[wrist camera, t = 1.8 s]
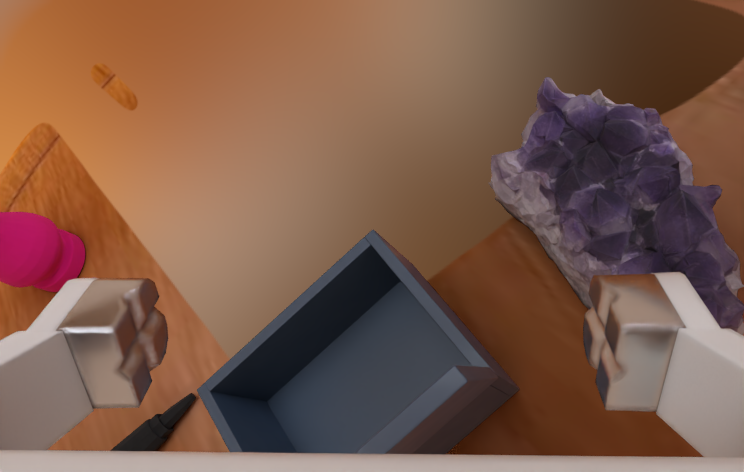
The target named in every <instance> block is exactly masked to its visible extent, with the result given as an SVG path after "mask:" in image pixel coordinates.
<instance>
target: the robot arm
mask: <svg viewBox="0 0 744 472" xmlns="http://www.w3.org/2000/svg"><path fill="white" fill-rule="evenodd" d="M588 294H589V297H590V299H591V302H592V304H593V306H592V307H591V308H590V309H589V310H588V311H587V312H586V313H585V319H584V327H583V337H584V347H585V353H586V356H587V359H588V362H589V364H590V365H591V366H592V367H594V368H595V369H596V370H598V371H597V376H596V385H597V388H598V390H599V393H600V396H601V399H602V401H603V404H604V407H605V410H620V411H652V412H656V414H657V415H658V416H659V417H660V418H661V419H662V420H664V421H665V422H666V423H667V424H668V425H669V426H670V427H671V428H672V429H674V430H675V431H676V432H677V433H678V434H679V435H680V436H681V437H682V438H684V439H685V440H686V441H687V442H688V443H689V444H690V445H691V446H692V447H694V448H695V449H696V450H697V451H698V452H699V453H700V454H701V455H702V456H704V457H636V456H544V455H451V454H346V453H253V452H160V451H67V450H47V449H48V448H50V447H51V446H52V445H53V444H54V443H56V442H57V441H58V440H59V439H60V438H62V437H63V436H64V435H65V434H66V433H68V432H69V431H70V430H71V429H72V428H74V427H75V426H76V425H77V424H78V423H80V422H81V421H82V420H83V419H84V418H86V417H87V416H88V415H89V414H90V413H92V412H93V409H94V408H139V406H140V404H141V402H142V400H143V398H144V396H145V394H146V392H147V390H148V388H149V386H150V384H151V382H152V379H151V376H150V373H149V372H150V371H151V370H153V369H154V368H155V367H157V366H158V365H160V364H161V362H162V360H163V357H164V355H165V353H166V348H167V342H168V330H167V323H166V320H165V316H164V315H163V314H162V313H161V312H160V311H159V310H157V309H156V308H155V307H154V305H155V304H156V302H157V300H158V298H159V295H158V292H157V289H156V286H155V283H154V282H153V281H152V280H150V279H140V278H99V279H98V278H74V279H71V280H68V281H67V282H66V283H65V284H64V286H63V287H62V288H61V289H60V290H59V292H58V293H57V294H56V295H55V296H54V298H53V299H52V300H51V301H50V303H49V304H48V305H47V306H46V307H45V309H44V310H43V311H42V312H41V314H40V315H39V316H38V317H37V318H36V320H35V321H34V322H33V323H32V324H31V326H30V327H29V328H28V329H27V331H17V332H15V333H13V334H11V335H9V336H8V337H6V338H4V339H2V340H0V472H744V336H743V335H741V334H739V333H737V332H735V331H734V330H732V329H721V328H720V326H719V325H718V323H717V322H716V320H715V319H714V317H713V316H712V314H711V313H710V311H709V310H708V308H707V307H706V305H705V304H704V302H703V301H702V300H701V298H700V297H699V295H698V294H697V292H696V291H695V289H694V288H693V286H692V285H691V283H690V282H689V280H688V279H687V277H686V276H685V275H684V274H682V273H681V272H666V273H651V274H617V275H593V277H592V280H591V282H590V287H589V293H588Z"/></svg>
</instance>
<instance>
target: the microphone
mask: <svg viewBox="0 0 744 472" xmlns="http://www.w3.org/2000/svg"><path fill="white" fill-rule="evenodd" d="M195 399H196V397H195V396H194V394H192V393H191V394H189V395H188V396H186V397H185V398H183V399H182V400H180V401H179V402H178V403H176V404H175V405H173V406H172V407H171V408H169V409H168V410H167V411H166V412H164V413H163V414H156V415H155V416H154V417H153V418H152V419H149V420H147V421H145V422H144V423H143V424H142V425H141V426H139V427H138V428H137V429H136V430H135V431H133V432H132V433H131V434H130V435H129V436H127V437H126V438H125V439H124V440H123V441H121V442H120V443H119V444H118V445H117V446H115V447H114V448H113V449H112V450H111V451H156V450H157V449H158V448H159V447H160V446H161V445H162V444H163V443H164V442H165V441H166V440H167V436H168V435H169V434H170V433H171V432H172V431H173V430H174V429H173V427H172V426H173V425H174V424H175V423H176V422H177V421H178V419H179V418H180V417H181V416H182V415H183V414H184V412H185V411H186V410H187V409H188V407H189V406H190V405H191V404H192V403H193V401H194V400H195Z"/></svg>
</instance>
